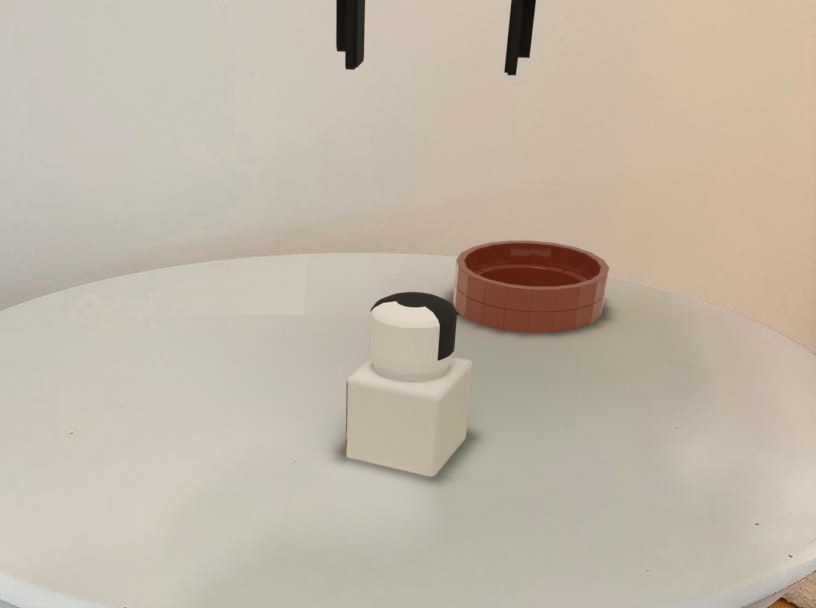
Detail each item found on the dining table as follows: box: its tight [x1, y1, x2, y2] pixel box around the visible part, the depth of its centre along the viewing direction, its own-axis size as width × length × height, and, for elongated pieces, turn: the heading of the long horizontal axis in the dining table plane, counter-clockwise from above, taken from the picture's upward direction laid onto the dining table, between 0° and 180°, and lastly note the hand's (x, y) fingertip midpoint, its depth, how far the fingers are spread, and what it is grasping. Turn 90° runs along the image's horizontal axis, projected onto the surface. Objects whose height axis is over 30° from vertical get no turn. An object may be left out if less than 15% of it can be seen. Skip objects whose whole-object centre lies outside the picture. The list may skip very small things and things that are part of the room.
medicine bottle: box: [345, 291, 473, 477], centre depth 72 cm, size 7×7×12 cm
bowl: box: [452, 240, 610, 334], centre depth 98 cm, size 15×15×5 cm
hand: (431, 68), depth 61 cm, fingers open, 9 cm apart
